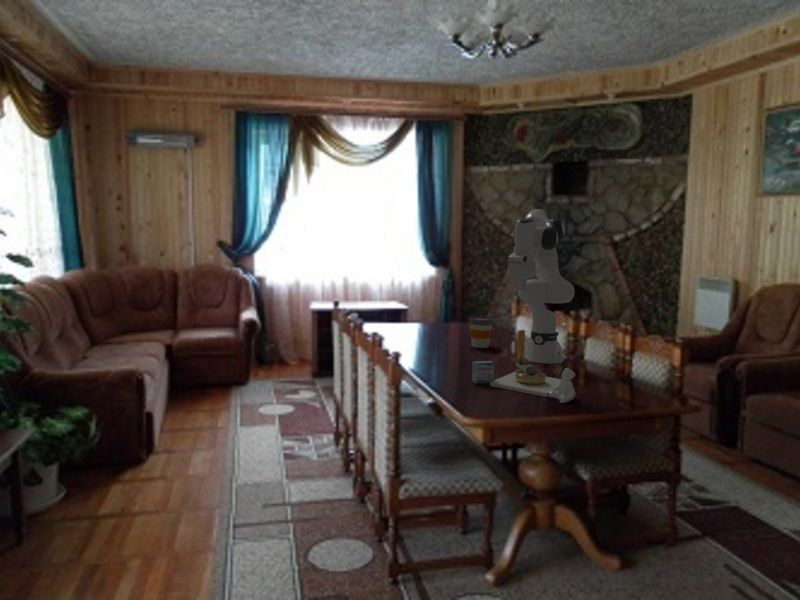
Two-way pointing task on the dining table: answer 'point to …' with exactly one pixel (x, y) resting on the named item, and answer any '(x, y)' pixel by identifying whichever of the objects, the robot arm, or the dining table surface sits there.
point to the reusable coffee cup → (480, 331)
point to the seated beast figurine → (564, 387)
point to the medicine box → (482, 372)
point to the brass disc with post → (521, 373)
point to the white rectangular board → (540, 390)
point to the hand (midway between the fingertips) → (522, 289)
